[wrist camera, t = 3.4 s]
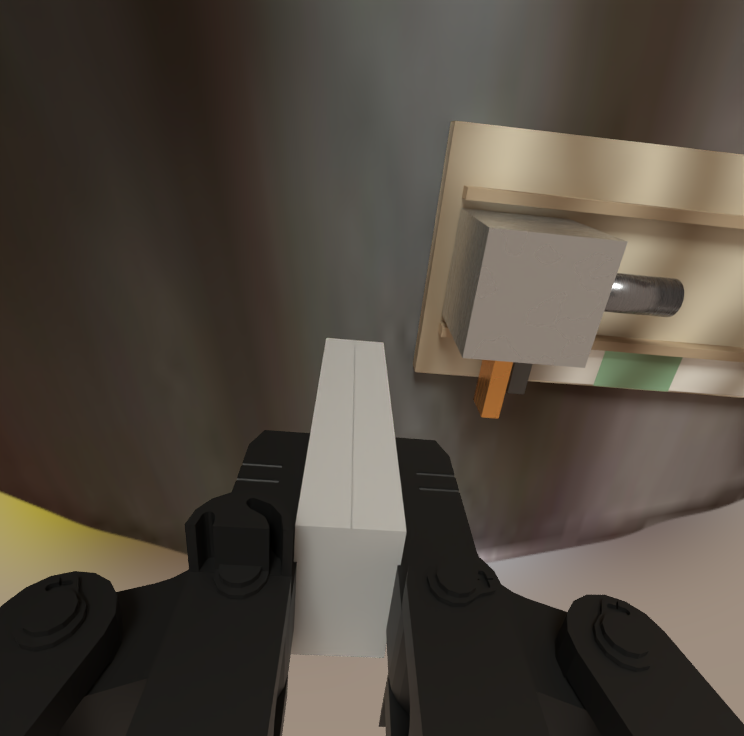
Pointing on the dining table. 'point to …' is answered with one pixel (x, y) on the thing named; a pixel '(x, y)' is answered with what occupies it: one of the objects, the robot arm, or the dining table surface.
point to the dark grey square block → (518, 378)
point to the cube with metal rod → (538, 294)
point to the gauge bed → (622, 220)
